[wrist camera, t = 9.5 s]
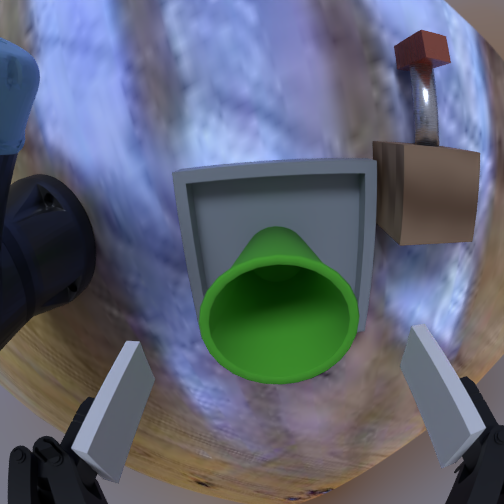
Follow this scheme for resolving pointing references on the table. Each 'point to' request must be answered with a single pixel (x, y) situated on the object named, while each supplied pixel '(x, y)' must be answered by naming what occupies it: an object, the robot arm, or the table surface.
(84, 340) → the table surface
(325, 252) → the tray
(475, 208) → the mount
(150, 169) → the table surface
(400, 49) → the pin
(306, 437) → the table surface
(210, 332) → the cup
